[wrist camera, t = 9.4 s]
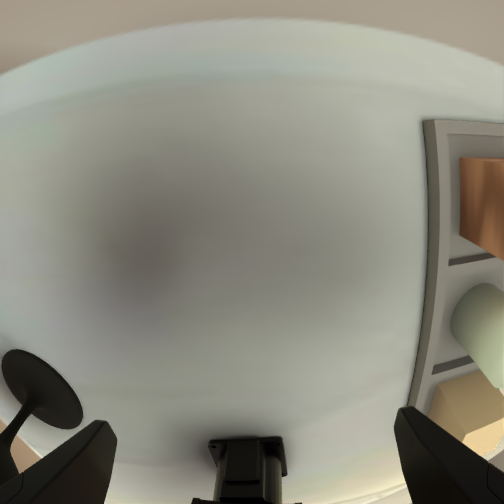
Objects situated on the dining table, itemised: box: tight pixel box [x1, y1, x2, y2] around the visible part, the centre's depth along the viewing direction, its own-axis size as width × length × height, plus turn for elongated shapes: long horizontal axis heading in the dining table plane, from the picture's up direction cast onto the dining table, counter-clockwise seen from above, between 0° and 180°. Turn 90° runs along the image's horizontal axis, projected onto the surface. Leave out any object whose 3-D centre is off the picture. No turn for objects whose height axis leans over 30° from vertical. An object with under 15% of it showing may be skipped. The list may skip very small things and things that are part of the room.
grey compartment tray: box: [407, 120, 504, 456], centre depth 17 cm, size 27×10×6 cm, turn 8°
